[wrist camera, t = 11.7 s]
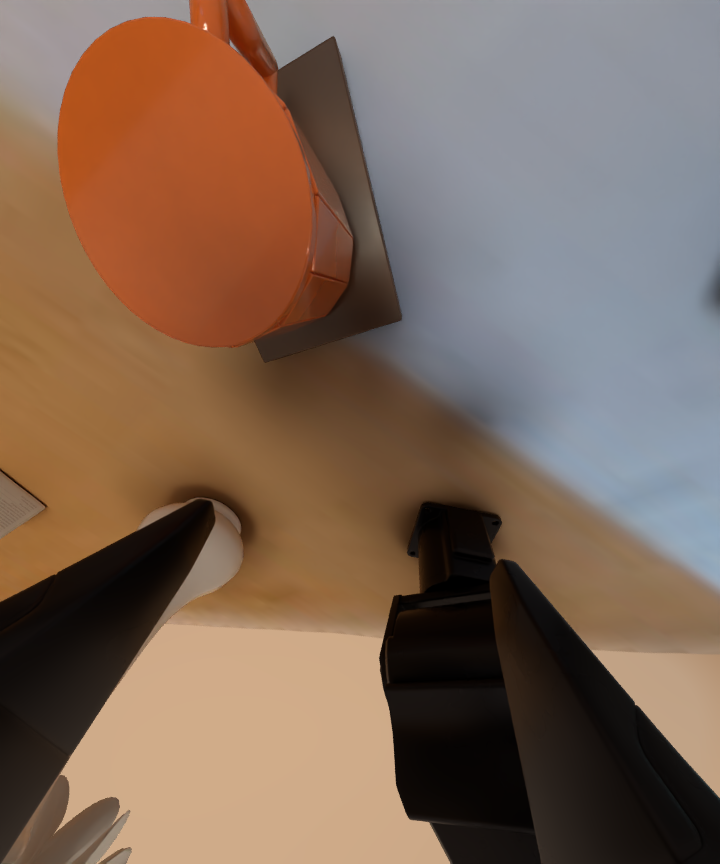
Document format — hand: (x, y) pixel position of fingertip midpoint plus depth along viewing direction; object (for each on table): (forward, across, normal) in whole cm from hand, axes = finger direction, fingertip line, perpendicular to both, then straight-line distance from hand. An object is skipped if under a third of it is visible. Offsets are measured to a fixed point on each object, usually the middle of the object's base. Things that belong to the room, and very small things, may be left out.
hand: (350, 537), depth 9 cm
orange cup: (+10, +6, -8) cm, 14 cm away
